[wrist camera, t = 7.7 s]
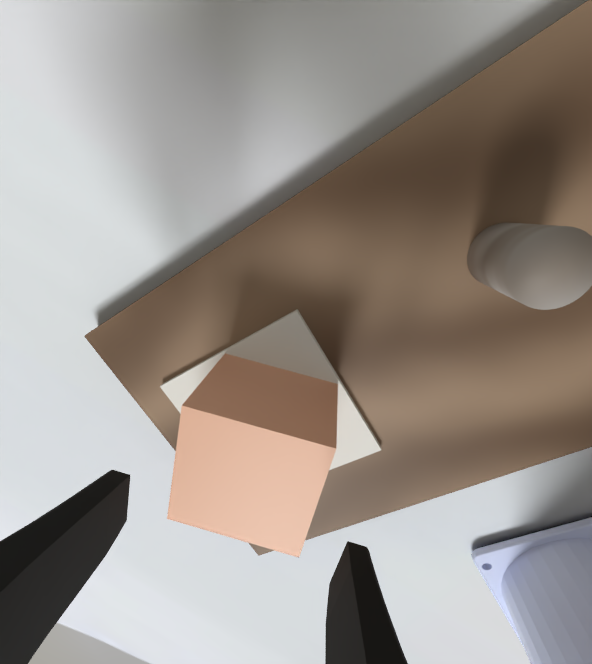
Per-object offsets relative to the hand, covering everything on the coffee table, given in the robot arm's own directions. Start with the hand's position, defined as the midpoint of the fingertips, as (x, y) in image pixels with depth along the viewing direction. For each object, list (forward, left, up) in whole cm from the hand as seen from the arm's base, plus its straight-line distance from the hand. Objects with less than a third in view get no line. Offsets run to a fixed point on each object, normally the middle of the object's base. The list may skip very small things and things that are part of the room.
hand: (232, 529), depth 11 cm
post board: (0, -6, -8) cm, 10 cm away
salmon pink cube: (0, 0, -6) cm, 6 cm away
